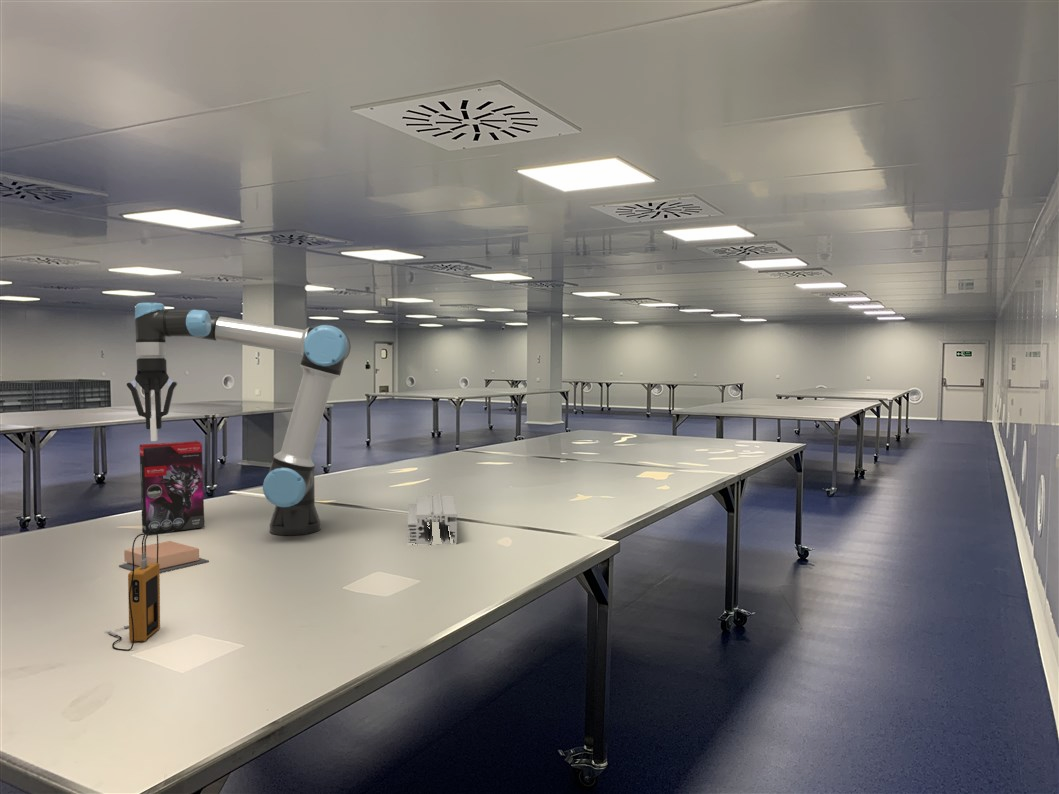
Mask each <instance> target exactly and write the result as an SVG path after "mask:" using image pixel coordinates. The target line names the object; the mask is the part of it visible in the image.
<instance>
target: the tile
mask: <svg viewBox="0 0 1059 794" xmlns="http://www.w3.org/2000/svg"><path fill="white" fill-rule="evenodd" d="M143 553H144V545H143ZM123 554H124V562H125V563H131V564H133V560H132V548H128V549H124V553H123ZM146 558H147V563H157V543H153V544H148V545H147V544H146ZM199 558H200V548H198V547H194V546H190V545H187V544H183V543H179V542H176V541H171V540H168V541H167V540H166V541H164V542H163V541H162V542H158V563H159V569H162V568H166V567H171V566H175V565H180V564H184V563H188V562H193V561H197V560H199ZM141 560H142V546H137V547H134V565H137V566H141Z"/></svg>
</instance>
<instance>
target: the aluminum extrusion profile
mask: <svg viewBox="0 0 1059 794" xmlns="http://www.w3.org/2000/svg"><path fill="white" fill-rule="evenodd" d="M407 512H408V514H407V521H406V522H407V527H406V528H407V530H408V531H407V539H406V540H407V543H415V544H417V545H416V546H419V545H418V544H432V542H433V536H432V522H439V529H440V538H441V542H442V544H447V545H452V544H451V543H450V537H449V531H448V526H449V530H450V535H451V539H453V543H454V544H453V545H456V544H455V543H457V544H458V520H457V517H458V512H457V507H456V502H455V499H454V495H441V493H438V495H432V493H429V495H417V496H416V503H409V504H408V511H407ZM430 517H431V519H429V521H430V522H429V524H430V525H429V526H428V525H427V521H428V518H430ZM442 518H443V519H442ZM427 526H428V527H430V529H429V528H428V527H427ZM428 539H429V540H428ZM407 543H406V544H407ZM412 546H414V545H413V544H412Z"/></svg>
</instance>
